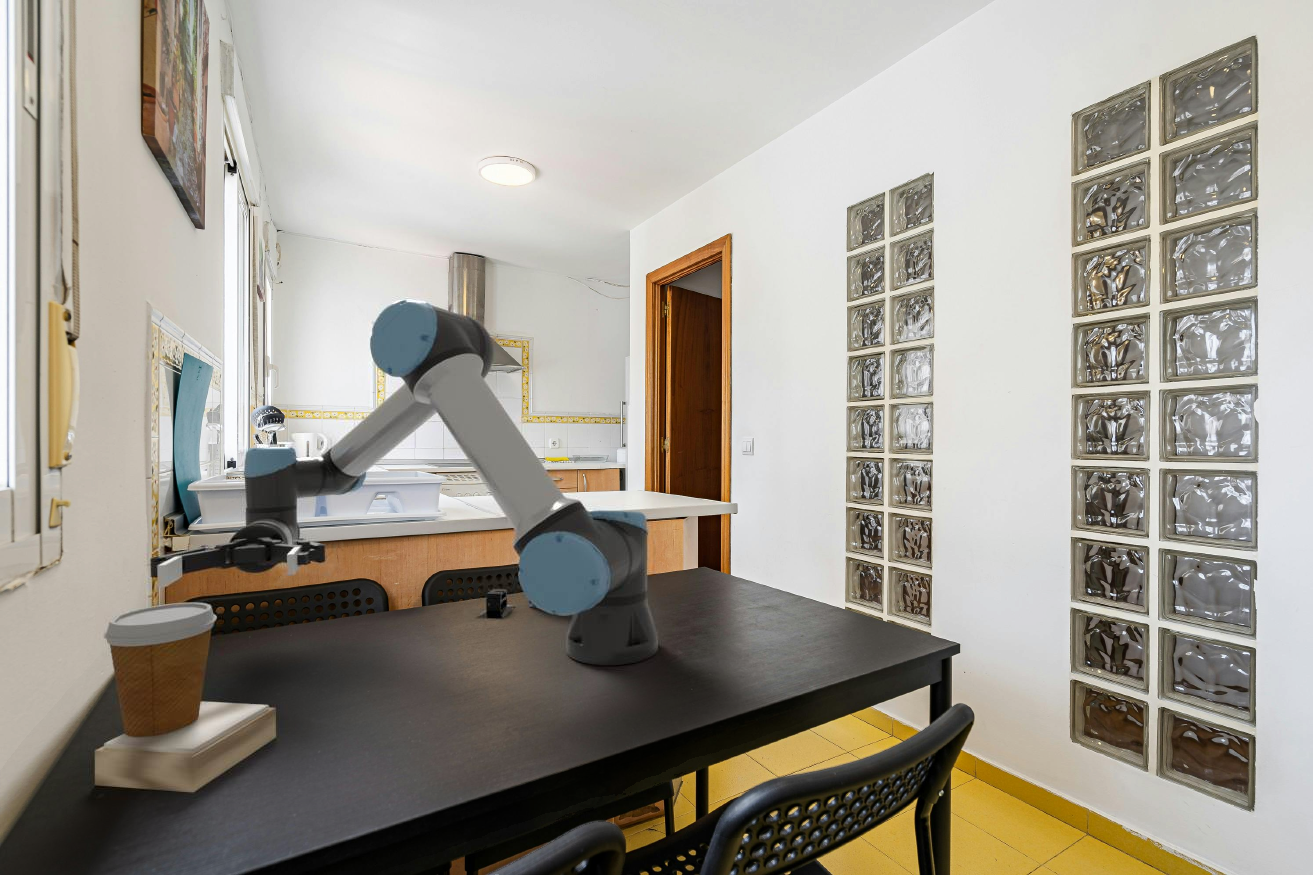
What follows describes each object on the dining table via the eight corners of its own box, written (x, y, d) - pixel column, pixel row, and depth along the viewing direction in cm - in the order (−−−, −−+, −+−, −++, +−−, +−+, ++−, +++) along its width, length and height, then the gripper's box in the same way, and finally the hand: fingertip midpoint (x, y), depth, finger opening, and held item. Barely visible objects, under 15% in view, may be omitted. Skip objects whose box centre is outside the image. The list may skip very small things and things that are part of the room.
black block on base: (503, 623, 116) (503, 599, 116) (466, 622, 116) (466, 599, 116) (523, 605, 128) (523, 584, 128) (489, 605, 129) (489, 583, 129)
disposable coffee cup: (155, 704, 71) (155, 601, 71) (236, 703, 71) (236, 601, 71) (77, 745, 61) (76, 626, 61) (171, 745, 61) (171, 626, 61)
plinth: (275, 737, 71) (275, 703, 71) (193, 792, 60) (193, 751, 60) (190, 732, 72) (190, 698, 72) (95, 784, 61) (94, 745, 61)
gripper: (349, 561, 101) (339, 588, 82) (164, 578, 91) (102, 613, 72) (348, 516, 101) (338, 532, 82) (163, 528, 91) (101, 549, 72)
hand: (228, 570), depth 77 cm, fingers open, 13 cm apart
